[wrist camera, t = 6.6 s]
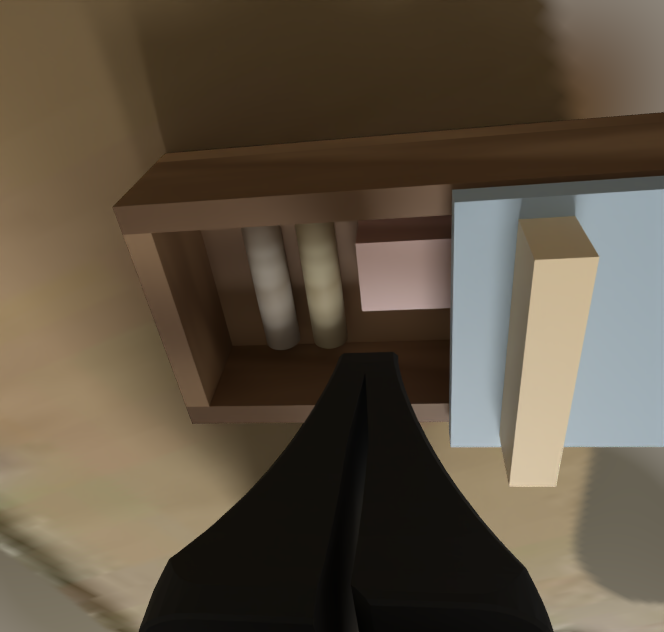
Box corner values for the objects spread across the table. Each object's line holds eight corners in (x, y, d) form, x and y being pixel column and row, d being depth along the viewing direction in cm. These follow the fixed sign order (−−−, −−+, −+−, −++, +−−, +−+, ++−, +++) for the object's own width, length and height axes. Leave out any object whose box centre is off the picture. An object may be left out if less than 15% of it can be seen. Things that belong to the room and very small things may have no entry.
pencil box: (651, 337, 20) (701, 419, 17) (222, 349, 22) (192, 423, 19) (715, 108, 15) (800, 160, 12) (165, 153, 17) (112, 207, 14)
